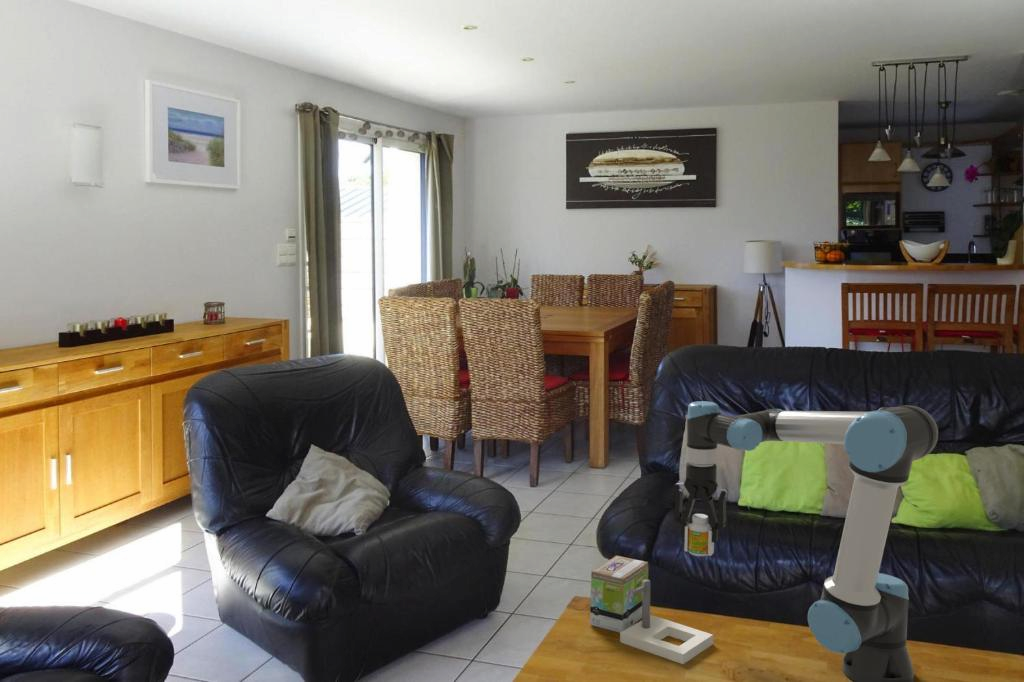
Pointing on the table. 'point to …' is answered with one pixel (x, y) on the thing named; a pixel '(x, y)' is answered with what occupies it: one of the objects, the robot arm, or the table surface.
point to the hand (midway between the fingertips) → (699, 551)
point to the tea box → (617, 593)
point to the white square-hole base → (663, 634)
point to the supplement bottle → (699, 535)
